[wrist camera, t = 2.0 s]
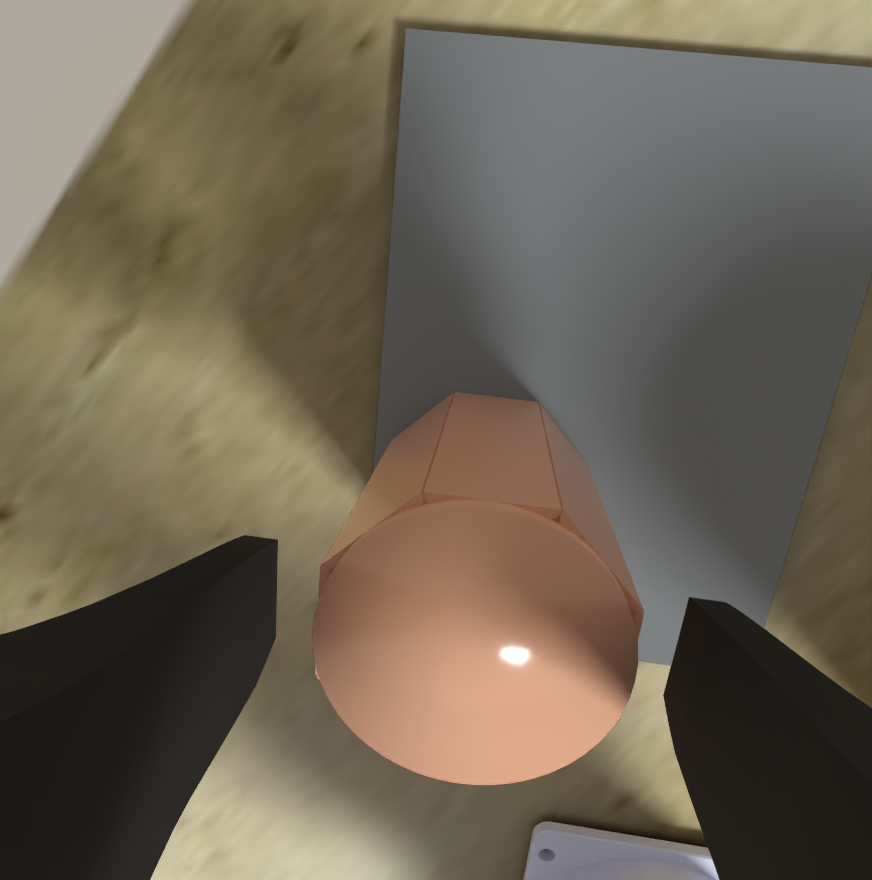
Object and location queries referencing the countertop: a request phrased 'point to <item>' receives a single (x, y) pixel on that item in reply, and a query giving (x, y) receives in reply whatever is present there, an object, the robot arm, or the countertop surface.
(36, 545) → the countertop surface
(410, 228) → the mat
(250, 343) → the countertop surface
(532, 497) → the salmon pink faceted cylinder
